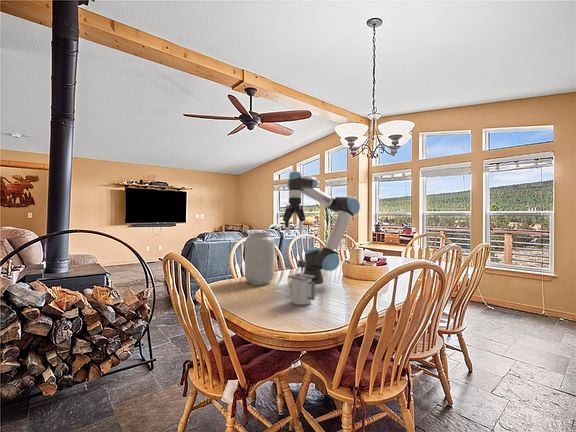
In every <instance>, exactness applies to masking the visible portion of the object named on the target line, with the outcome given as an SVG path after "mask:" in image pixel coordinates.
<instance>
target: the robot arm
mask: <svg viewBox="0 0 576 432" xmlns="http://www.w3.org/2000/svg"><path fill="white" fill-rule="evenodd" d="M286 185H287V187H288V204H286V206H285V211H284V214H283V217H282V221H283V222H284V223H285V224H284V227H285V230H284V232H285V233H286V234H290V231H291V230H290V229H291V222H290V220H291V218H292V216H293V214H294V213H295V214H296V216H297V218H298V219H299V221H298V232H301V233H302V232H304V231H303V230H304V222H305V221H306V216H305V211H304V206H303V205H302V198H301V197H302V194H303V195H304V196H307V197H308V198H310V199H312V200H313V201H316V202H318V203H319V204H321V205H322V206H323V207H325V208H326V209H328V210H330V211H332V212H334V213H336V214H337V216H336V219H335V222H334V224H333V227H332V229H331V232H330V234H329V237H328V239H327V242H326V244H325V246H323V247H322V248H307V249H305V251H304V260H305V261H306V267H304V269H303V270H304V271H303V274H308V275H313V276H315V278H312V279H311V282H315V285H317V284H322V283H323V284H324V276H323V273H322V270H323V271H329V272H333V271H335V270H337V268H338V267H339V266H340V261H341V260H340V256H339V255H340V253H339V251H338V250H339V249H340V245H341V243H342V240H343V239H344V235H345V232H346V230H347V228H348V225H349V222H350V220H351V219H353V218H354V216H355V215H357V214H358V213H359V212H360V210H361V209H360V208H361V205H360V204H361V203H360V201H359V199H358V198H357V197H355V196H334V195H332V194H327V193H326V192H323V191H321V190H320V189H318V188H317V187H318V179H317V177H316V176H315V177H314V176H306V175H303V173H302V172H301V171H291V172H290V173H289V178H288V180H287V184H286ZM300 204H301V205H300Z"/></svg>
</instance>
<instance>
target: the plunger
mask: <svg viewBox="0 0 576 432" xmlns="http://www.w3.org/2000/svg"><path fill="white" fill-rule="evenodd" d="M297 267H299V268H300V273H301V276H302V277H303V273H304V271H303V270H304V269H303V268H305V267H306V261H305V259H299V260H297Z"/></svg>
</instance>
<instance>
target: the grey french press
mask: <svg viewBox="0 0 576 432" xmlns="http://www.w3.org/2000/svg"><path fill="white" fill-rule="evenodd" d="M287 278H289V279H291V280H292V287H291V296H290V297H291V301H290V303H291V305H293V306H296V307H308V306H311V303H312V301H315V299H316V298H315V297H316V284H315V282H311V279H312V278H315V276H313V275H308V274H303V277H302V276H301V272H298V273H295V274H290V275H288V276H287Z"/></svg>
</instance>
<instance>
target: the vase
mask: <svg viewBox="0 0 576 432" xmlns="http://www.w3.org/2000/svg"><path fill="white" fill-rule="evenodd" d="M275 242H276V241H275V238H274V237H272V236H271V233H268V232H251V233H249V236H247V237H246V238H245V242H244V244H245V245H244V277H245V280H246V281H248V284H249V285H253V286H263V285H269V284H270V282H272V281H273V279H274V277H275V260H276V259H275V257H276V256H275V254H276V253H275V252H276V251H275V250H276V246H275V245H276V243H275Z"/></svg>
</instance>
